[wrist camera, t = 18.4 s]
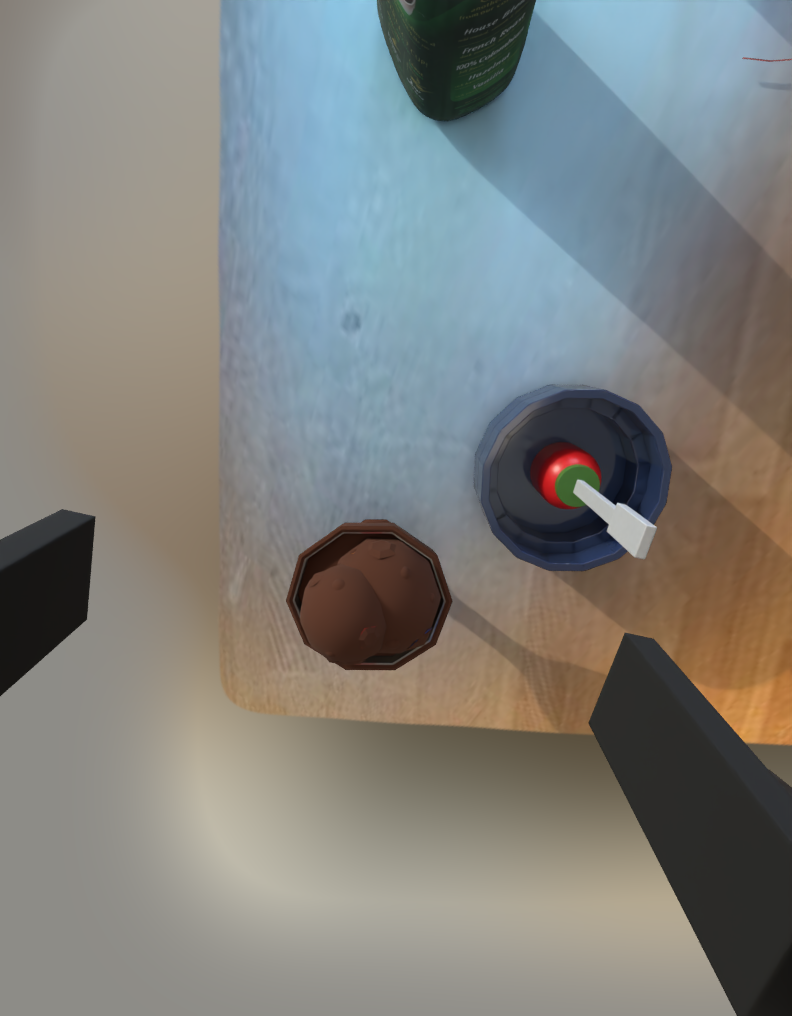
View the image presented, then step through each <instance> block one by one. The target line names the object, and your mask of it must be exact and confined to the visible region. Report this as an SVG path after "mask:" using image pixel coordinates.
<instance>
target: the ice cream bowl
mask: <svg viewBox="0 0 792 1016" xmlns="http://www.w3.org/2000/svg"><path fill="white" fill-rule="evenodd" d="M286 602H287V604H288V607H289V609H290V611H291V614H292V616H293V618H294V621H295V623H296V625H297V628H298V630H299V632H300V635H301V637H302V639H303V642H304V644H305V645H307V646H308V647H310V648H312V649H313V650H315V651H316V652H318V653H320V654H321V655H323V656H324V657H325V658H327V660H328V661H329V662H331V663H336V664H337V665H339V666H340V667H342V668H344V669H345V670H396V669H398V668H399V667H401V666H403V665H404V664H406V663H407V662H409V661H410V660H412V659H414V658H415V657H417V656H418V655H420V654H422V653H423V652H425V651H426V650H428V649H430V648H431V647H433V646H434V645H436V643H437V640H438V637H439V635H440V632H441V630H442V627H443V625H444V622H445V619H446V617H447V614H448V612H449V609H450V607H451V604H452V598H451V595H450V592H449V589H448V586H447V583H446V580H445V577H444V574H443V571H442V568H441V565H440V562H439V559H438V556H437V555H436V553H435V552H434V551H433V550H432V549H431V548H429V547H428V546H426V545H425V544H424V543H422V542H421V541H419V540H418V539H416V538H415V537H413V536H412V535H410V534H409V533H408V532H406V531H405V530H403V529H402V528H400V527H399V526H397V525H396V524H394V523H391V522H389V521H388V520H364V521H363V522H361V523H344V524H342V525H341V526H339V527H338V528H336V529H335V530H334V531H332V532H331V533H329V534H328V535H327V536H325V537H324V538H322V539H321V540H319V541H318V542H317V543H315V544H314V545H312V546H311V547H309V548H308V549H307V550H305V551H304V552H303V553H301V554H300V555H299V557H298V561H297V564H296V568H295V571H294V575H293V578H292V582H291V585H290V589H289V592H288V596H287V599H286Z"/></svg>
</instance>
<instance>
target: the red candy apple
mask: <svg viewBox="0 0 792 1016" xmlns="http://www.w3.org/2000/svg"><path fill="white" fill-rule="evenodd" d="M530 477H531V482H532V484H533V486H534V488H535V489H536V490H537V491H538V493H539V494H540V495H541V496H542V497H543V498H544V499H545V500H546V501H547V502H548V503H549V504H551V505H553V506H555V507H557V508H561V509H576V508H579V507H582V506H585V505H588V506H589V507H590V508H591V509H592V510H593V511H594V512H595V513H597V514H598V515H599V516H600V517H601V518H602V519H603V520H604V521H606V522H607V523H608V524H609V526H608V529H607V532H608V533H609V534H610V535H611V536H612V537H613V538H614V539H615V540H616V541H617V542H619V543H620V544H621V545H622V546H623V547H624V548H625V549H626V550H627V551H628V552H629V553H630V554H631V555H632V556H634V557H635V558H639V559H645V558H646V555H647V553H648V550H649V548H650V545H651V543H652V540H653V537H654V535H655V532H656V530H657V527H656V526H654V525H653V524H652V523H650V522H649V521H648V520H646V519H645V518H643V517H642V516H641V515H639V514H638V513H637V512H635V511H634V510H632V509H631V508H630V507H628V506H627V505H625V504H620V503H617V504H616V505H614V504H613V503H612V502H610V501H609V500H608V499H606V498H605V497H604V496H603V495H601V494H600V493H599V489H600V485H601V471H600V467H599V465H598V463H597V462H596V460H595V459H594V458H593V457H592V456H591V455H590V454H589V453H587V452H586V451H584V450H583V449H581V448H579V447H577V446H576V445H574V444H571V443H567V442H558V443H553V444H550V445H548V446H546V447H545V448H543V449H542V450H541V451H540V452H539V453H538V454H537V455H536V456H535V458H534V460H533V462H532V464H531V469H530Z"/></svg>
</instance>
